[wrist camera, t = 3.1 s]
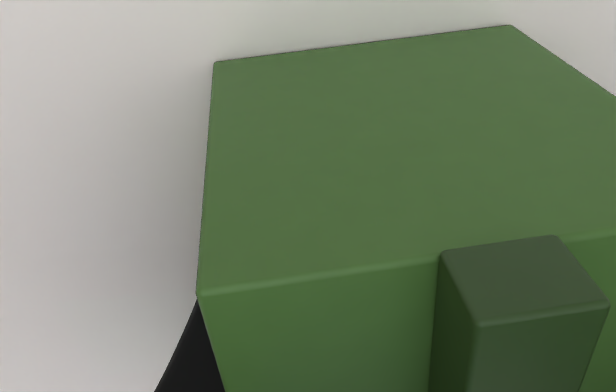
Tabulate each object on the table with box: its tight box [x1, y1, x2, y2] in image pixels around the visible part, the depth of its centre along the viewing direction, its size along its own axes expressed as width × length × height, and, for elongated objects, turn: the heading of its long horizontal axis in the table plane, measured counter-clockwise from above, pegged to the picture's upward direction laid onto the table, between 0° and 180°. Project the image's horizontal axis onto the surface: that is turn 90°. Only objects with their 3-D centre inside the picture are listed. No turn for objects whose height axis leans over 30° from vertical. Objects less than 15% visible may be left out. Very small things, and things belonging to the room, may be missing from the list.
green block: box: [196, 25, 616, 392], centre depth 8 cm, size 8×5×6 cm, turn 5°
